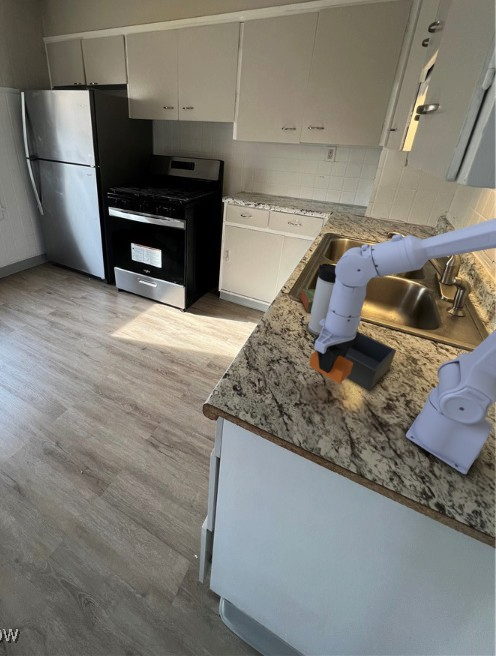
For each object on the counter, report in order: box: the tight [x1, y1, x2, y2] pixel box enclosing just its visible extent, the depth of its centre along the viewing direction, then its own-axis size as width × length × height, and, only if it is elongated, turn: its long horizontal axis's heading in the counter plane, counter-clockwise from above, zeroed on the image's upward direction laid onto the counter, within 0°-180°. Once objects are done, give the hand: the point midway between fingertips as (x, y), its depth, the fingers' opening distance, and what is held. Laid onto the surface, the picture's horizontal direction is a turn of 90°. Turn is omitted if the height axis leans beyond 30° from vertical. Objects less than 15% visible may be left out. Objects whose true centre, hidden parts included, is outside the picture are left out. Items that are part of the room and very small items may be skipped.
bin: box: [344, 330, 397, 392], centre depth 76 cm, size 13×11×6 cm
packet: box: [308, 350, 353, 385], centre depth 66 cm, size 7×4×3 cm, turn 41°
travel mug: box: [307, 262, 337, 336], centre depth 85 cm, size 6×7×20 cm
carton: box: [300, 288, 316, 313], centre depth 100 cm, size 8×16×4 cm, turn 89°
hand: (330, 364), depth 66 cm, fingers closed on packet, 4 cm apart
